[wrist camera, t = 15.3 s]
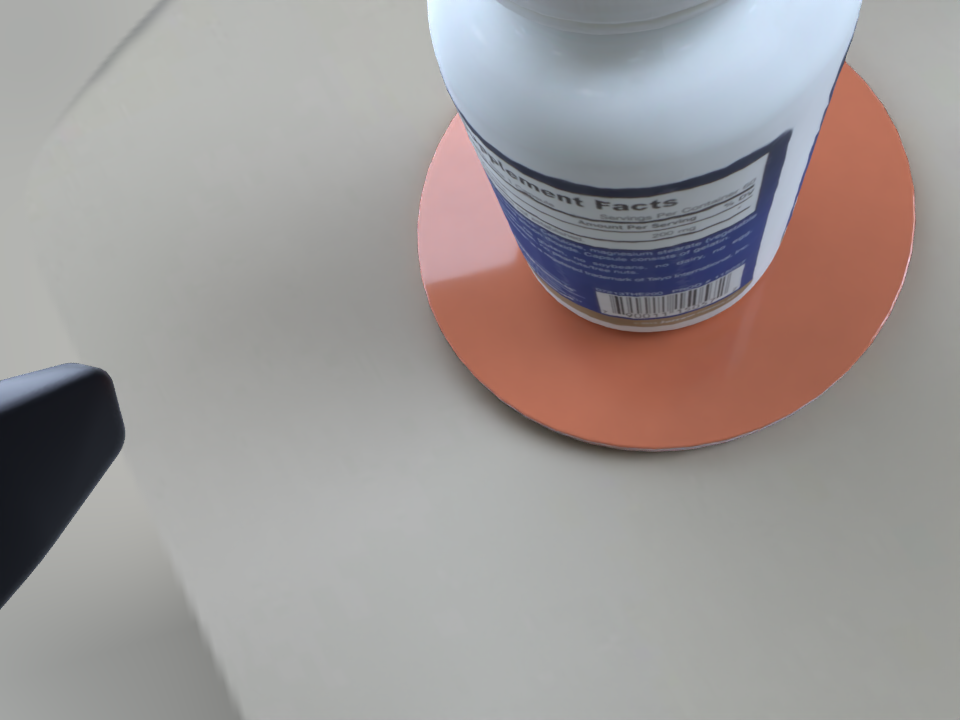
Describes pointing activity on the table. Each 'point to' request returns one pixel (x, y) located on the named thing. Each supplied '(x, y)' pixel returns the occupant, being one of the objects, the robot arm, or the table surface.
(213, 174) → the table surface
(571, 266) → the pill bottle
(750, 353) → the coaster
